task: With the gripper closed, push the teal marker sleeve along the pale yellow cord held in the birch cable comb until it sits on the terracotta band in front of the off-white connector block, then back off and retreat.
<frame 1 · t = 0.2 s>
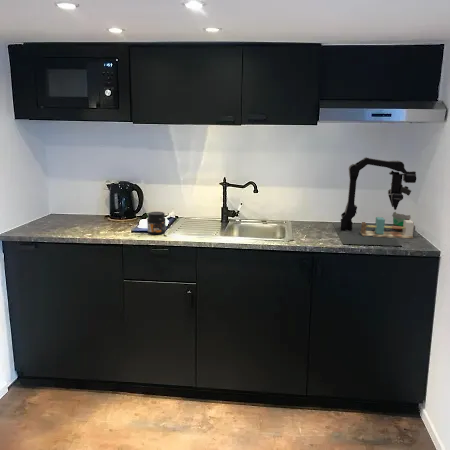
hand: (394, 208, 283), 14 cm above the worktop, tool pointing down, fingers open, 9 cm apart
marker sleeve: (379, 225, 277), point 6 cm above the worktop, slide at 0.0 cm
connector block: (407, 236, 276), resting on comb board
fibre cord: (384, 235, 277), resting on comb board
comb board: (385, 235, 277), on the worktop
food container: (397, 230, 291), on the worktop
supplement container: (156, 233, 276), on the worktop
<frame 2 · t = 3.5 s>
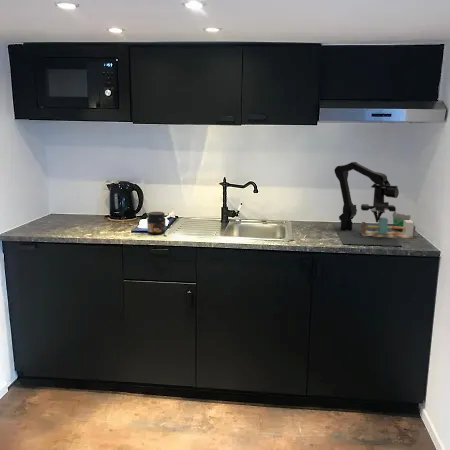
hand: (376, 222, 276), 8 cm above the worktop, tool pointing down, fingers closed
marker sleeve: (382, 225, 276), point 6 cm above the worktop, slide at 1.7 cm, touching gripper
everything else where it was.
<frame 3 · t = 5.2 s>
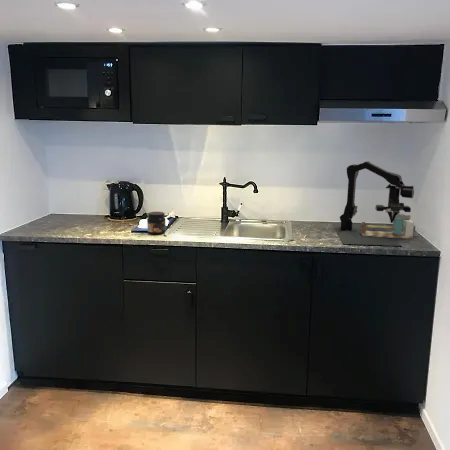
hand: (391, 222, 275), 8 cm above the worktop, tool pointing down, fingers closed
marker sleeve: (397, 226, 275), point 6 cm above the worktop, slide at 10.0 cm, touching gripper
everything else where it was.
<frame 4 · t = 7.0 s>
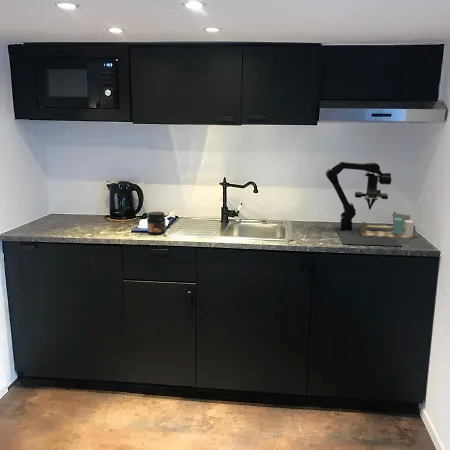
hand: (369, 209, 287), 13 cm above the worktop, tool pointing down, fingers closed
marker sleeve: (397, 226, 275), point 6 cm above the worktop, slide at 10.0 cm
everything else where it was.
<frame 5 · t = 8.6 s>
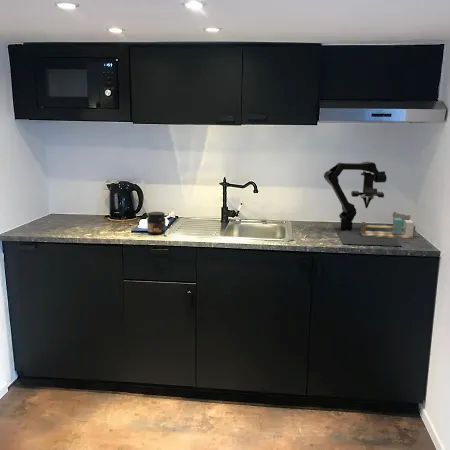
hand: (366, 208, 290), 13 cm above the worktop, tool pointing down, fingers closed
nothing on the worktop moved.
at the end: marker sleeve slide at 10.0 cm; the gripper is holding nothing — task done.
